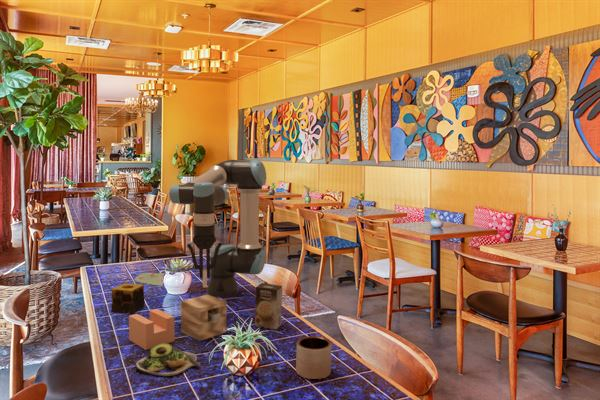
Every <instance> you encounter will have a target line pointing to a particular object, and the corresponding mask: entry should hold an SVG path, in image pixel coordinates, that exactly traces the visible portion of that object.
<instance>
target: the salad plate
mask: <svg viewBox="0 0 600 400" xmlns="http://www.w3.org/2000/svg"><path fill="white" fill-rule="evenodd" d="M148 353H149V354H148V355H146V356H144V357H143V358H141V359H139V360H138V361H136V363H135V368H136V370H137V371H139V372H140V373H142V374H146V375H151V376H162V377H172V376H177V375H178V376H179V375H180V374H183V373H185V372H186V371H187V370H189V369H191V368H193V367H199V366H201V364H200V363H199V362H198V361H197V358H198V357H197V355H196V354H195V353H192V352H188V351H182V350H181V349H179V348H178V347H176V346H173V345H171V344H170V343H161V344H158V345H156V346H154V347H153V348H151V349H149V352H148ZM167 369H171V370H174V369H175V371H170V372H160V371H163V370H167Z"/></svg>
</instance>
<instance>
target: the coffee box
mask: <svg viewBox="0 0 600 400" xmlns="http://www.w3.org/2000/svg"><path fill="white" fill-rule="evenodd" d="M282 299H283V285H280V284H279V285H278V284H271V283H266V282H264V283H263V282H261V283H260V284H258V285H257V286H256V287H255V311H254V312H255V317H254V320H255V321H254V327H255V326H256V328H261V327H264V328H263V329H267V328H270V329H269V330H274V329H276V330H277V329H279V327H280V326H282V308H283V307H282V305H283V302H282V301H283V300H282Z"/></svg>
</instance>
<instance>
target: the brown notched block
mask: <svg viewBox="0 0 600 400" xmlns="http://www.w3.org/2000/svg"><path fill="white" fill-rule="evenodd" d="M180 301H181V309H180V329H181V330H180V332H181V333H182V334H184V335H187V336H189V337H191V338H192V339H195V340H196V341H199V342H201V341H204V340H207V339H210V338H214V337H216V336H220V335H222V334H225V333H227V300H224V299H221V298H220V297H213V296H211V295H208V294H207V293H206V294H204V295H200V296H195V297H191V298H187V299H183V300H180ZM210 309H211V310H213V311H216V312H219V313H220V322H216V323H212V322H210V321H208V310H210ZM222 329H226V331H223V330H222Z"/></svg>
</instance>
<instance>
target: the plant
mask: <svg viewBox="0 0 600 400" xmlns="http://www.w3.org/2000/svg"><path fill="white" fill-rule="evenodd" d="M151 265H152V267H151ZM147 266H148V270H146V272H143V273H140V274H139V275H137V276H135V278H134V282H137V283H138V282H139V283H142V284H147V285H148V284H149V285H154V286H164V285H163V277H164V274H166V273H164V272H162V273H160V272H159V273H158V271H157V269H155V267H154V264H153V263H152V262H150V264H149V265H147Z"/></svg>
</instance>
